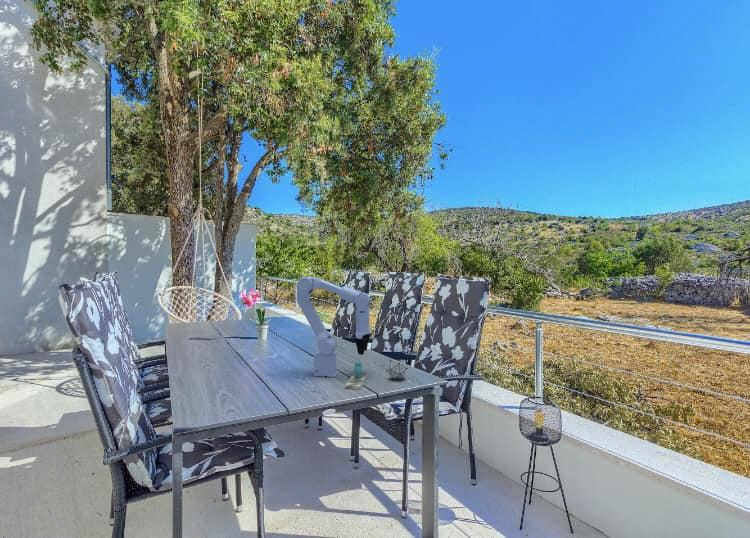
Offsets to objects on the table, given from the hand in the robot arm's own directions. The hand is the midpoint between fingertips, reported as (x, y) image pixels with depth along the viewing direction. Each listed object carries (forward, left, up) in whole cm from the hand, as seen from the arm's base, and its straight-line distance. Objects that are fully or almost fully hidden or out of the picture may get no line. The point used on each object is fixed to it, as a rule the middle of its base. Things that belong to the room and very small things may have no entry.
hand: (362, 352), depth 172 cm
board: (0, -10, -10) cm, 14 cm away
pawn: (0, -8, -9) cm, 12 cm away
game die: (+15, -3, -10) cm, 18 cm away
